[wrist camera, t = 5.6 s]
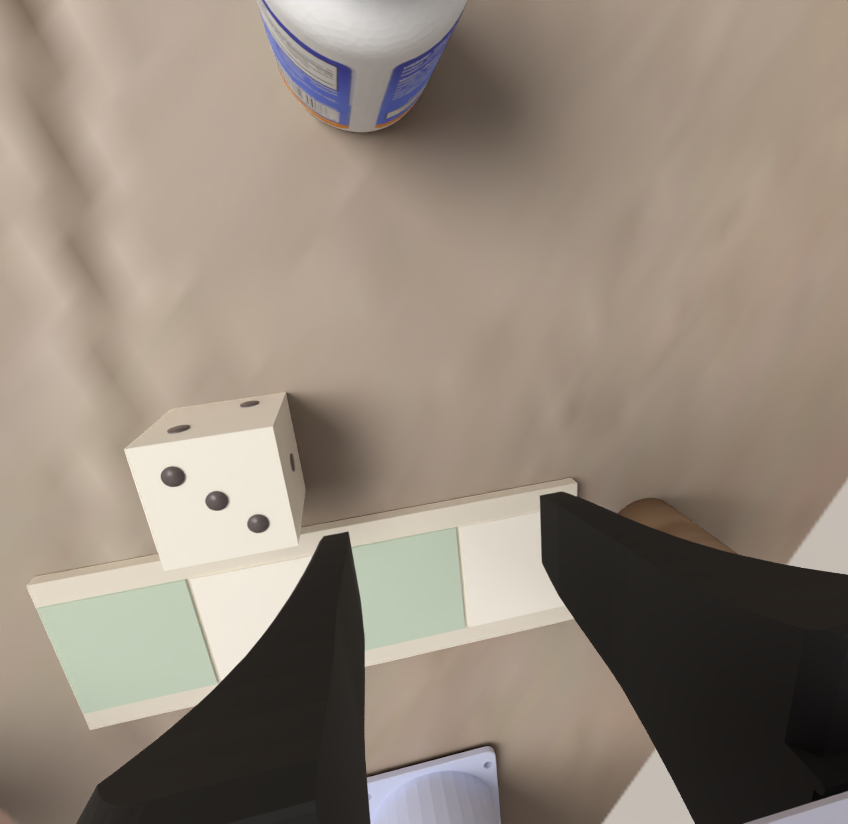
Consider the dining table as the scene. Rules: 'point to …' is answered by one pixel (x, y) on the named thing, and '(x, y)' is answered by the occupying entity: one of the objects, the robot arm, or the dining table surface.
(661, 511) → the pawn
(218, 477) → the die
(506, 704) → the dining table surface
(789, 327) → the dining table surface
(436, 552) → the board
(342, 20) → the pill bottle
